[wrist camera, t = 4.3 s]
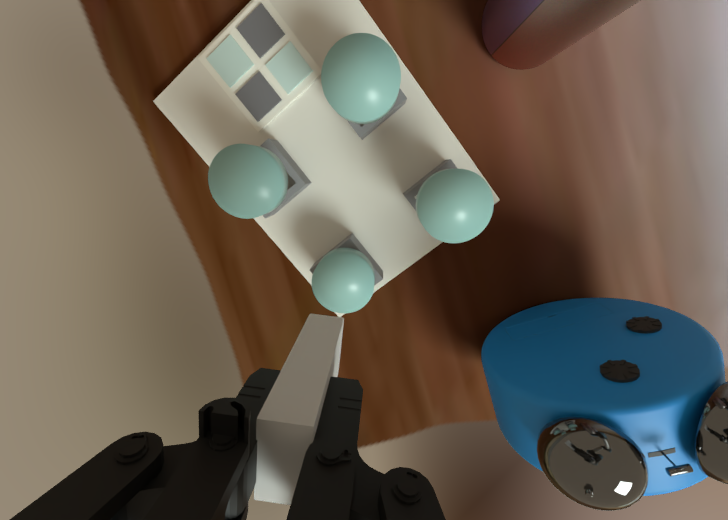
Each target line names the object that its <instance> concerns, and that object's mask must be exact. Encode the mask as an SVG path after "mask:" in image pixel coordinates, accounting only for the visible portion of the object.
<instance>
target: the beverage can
mask: <svg viewBox="0 0 728 520" xmlns="http://www.w3.org/2000/svg"><path fill="white" fill-rule="evenodd" d="M639 1H641V0H488V1H487V3H486V6H485V8H484V12H483V16H482V36H483V40H484V43H485V46H486V48H487V50H488V51H489V53H490V54H491V56H492V57H493V58H494V59H495V60H496V61H498V62H499V63H500V64H502V65H504V66H506V67H509V68H512V69H530V68H534V67H537V66H539V65H541V64H543V63H545V62H546V61H548V60H549V59H551V58H552V57H554V56H556V55H557V54H559V53H560V52H562V51H563V50H565V49H566V48H568V47H569V46H571V45H573V44H574V43H576V42H577V41H579V40H580V39H582V38H583V37H585V36H586V35H588V34H590V33H591V32H593V31H594V30H596V29H597V28H599V27H600V26H602V25H603V24H605V23H607V22H608V21H610V20H611V19H613V18H614V17H616V16H617V15H619V14H620V13H622V12H624V11H625V10H627V9H628V8H630V7H631V6H633V5H634V4H636V3H637V2H639Z"/></svg>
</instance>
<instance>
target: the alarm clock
mask: <svg viewBox="0 0 728 520" xmlns="http://www.w3.org/2000/svg"><path fill="white" fill-rule="evenodd" d="M481 360H482V364H483V368H484V372H485V376H486V380H487V383H488V387H489V391H490V395H491V398H492V402H493V406H494V410H495V414H496V417H497V421H498V424H499V427H500V429H501V431H502V433H503V435H504V436H505V438H506V440H507V441H508V442H509V444H510V445H511V446H512V447H513V448H514V450H515V451H516V452H517V453H519V455H520V456H522V457H523V458H524V459H525V460H526V461H528V462H529V463H530V464H532V465H533V466H535V467H536V468H538V469H540V470H541V471H543V472H544V473H545V475H546V477H547V478H548V479H549V481H550V482H551V483H552V484H553V485H554V487H556V488H557V489H558V490H559V491H560V492H561V493H562V494H564V495H566V496H567V497H568V498H570V499H571V500H573V501H575V502H577V503H578V504H581V505H583V506H586V507H589V508H593V509H597V510H606V511H612V510H621V509H624V508H627V507H630V506H631V505H633V504H634V503H636V502H637V501H639V500H640V499H641V497H642V496H650V495H659V494H665V493H670V492H674V491H678V490H681V489H684V488H687V487H690V486H692V485H694V484H696V483H698V482H700V481H702V480H704V479H705V478H706V477H708V476H709V477H711V478H713V479H715V480H717V481H720V482H722V483H725V484H728V382H725V371H724V360H723V354H722V351H721V349H720V346H719V344H718V342H717V341H716V339H715V338H714V337H713V336H712V335H711V334H710V333H709V332H708V331H707V330H706V329H705V328H704V327H702V326H701V325H700V324H698V323H697V322H695V321H694V320H692V319H690V318H688V317H687V316H685V315H682V314H680V313H678V312H675V311H673V310H670V309H667V308H664V307H661V306H657V305H653V304H649V303H644V302H640V301H633V300H626V299H616V298H578V299H568V300H561V301H555V302H550V303H545V304H541V305H538V306H534V307H531V308H528V309H525V310H523V311H520V312H518V313H516V314H514V315H512V316H510V317H508V318H507V319H505V320H504V321H502V322H501V323H499V324H498V325H497V326H496V327H495V328H493V330H492V331H491V332H490V333H489V334H488V336H487V337H486V339H485V341H484V343H483V346H482V351H481Z"/></svg>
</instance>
